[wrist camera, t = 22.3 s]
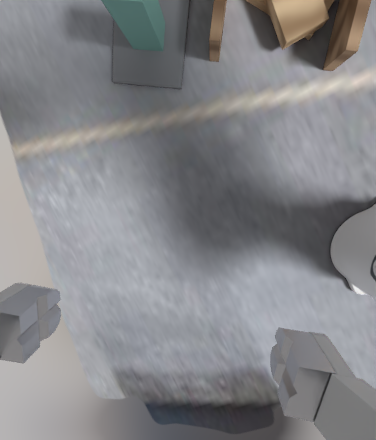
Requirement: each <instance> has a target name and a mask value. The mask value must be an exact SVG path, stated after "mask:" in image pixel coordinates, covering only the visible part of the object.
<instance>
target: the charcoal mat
mask: <svg viewBox="0 0 376 440" xmlns="http://www.w3.org/2000/svg"><path fill="white" fill-rule="evenodd" d="M158 1H159V4H160V7H161V10H162V14H163V17H164V20H165V34H164V47H163V51H151V50H138V49H133V47H132V46H131V44H130V43H129V41H128V40H127V38H126V37H125V35H124V34H123V32H122V31H121V29H120V28H119V26H118V25H117V23H116V22H115V20H114V30H113V73H112V82H113V83H120V84H131V85H142V86H153V87H164V88H175V89H181V87H182V76H183V66H184V55H185V45H186V34H187V24H188V13H189V3H190V0H158Z"/></svg>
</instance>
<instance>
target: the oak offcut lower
mask: <svg viewBox="0 0 376 440" xmlns="http://www.w3.org/2000/svg"><path fill="white" fill-rule="evenodd" d="M246 1H247V2H249V3H250V4H252V5H254V6H255V7H257V8H258V9H260V10H262V11H263V12H265V13H266V14H268V15H269V12H268V9H267V6H266V3H265V1H264V0H246ZM333 2H334V0H324V3H325V7H326V10H327V11H328V10H329V8H330V6H331V5H332V3H333ZM269 16H270V15H269ZM313 34H314V32H313V33H311V34H309V35H308V36H306V37H304V38H306V39H307V40H309V39H310V38H311V37H312V35H313Z"/></svg>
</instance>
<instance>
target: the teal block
mask: <svg viewBox="0 0 376 440" xmlns="http://www.w3.org/2000/svg"><path fill="white" fill-rule="evenodd" d="M101 1H102V2H103V4H104V5H105V7H106V8H107V10H108V11H109V13H110V14H111V16H112V17H113V19H114V20H115V22H116V23H117V25H118V26H119V28H120V29H121V31H122V32H123V34H124V35H125V37H126V38H127V40H128V41H129V43H130V44H131V46H132V47H133V49H138V50H151V51H163V47H164V34H165V20H164V17H163V14H162V10H161V7H160V4H159V1H158V0H101Z"/></svg>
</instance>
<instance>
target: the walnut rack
mask: <svg viewBox="0 0 376 440" xmlns="http://www.w3.org/2000/svg"><path fill="white" fill-rule="evenodd" d="M226 2H227V0H214V4H213V13H212V21H211V30H210V38H209V54H210V61H216V62H219V56H220V48H221V41H222V33H223V25H224V17H225V10H226ZM370 3H371V0H339V4H338V9H337V13H336V17H335V21H334V25H333V30H332V34H331V38H330V42H329V47H328V51H327V55H326V59H325V63H324V68H323V70H328V71H333V70H335V69H336V68H337V67H338V66H340V65H341V64H342V63H343V62H345V61H346V60H347V59H348V58H350V57H351V56H352V55H353V54H355V53H356V52H357V51H358V48H359V44H360V40H361V37H362V33H363V29H364V25H365V22H366V18H367V14H368V10H369V7H370Z"/></svg>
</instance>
